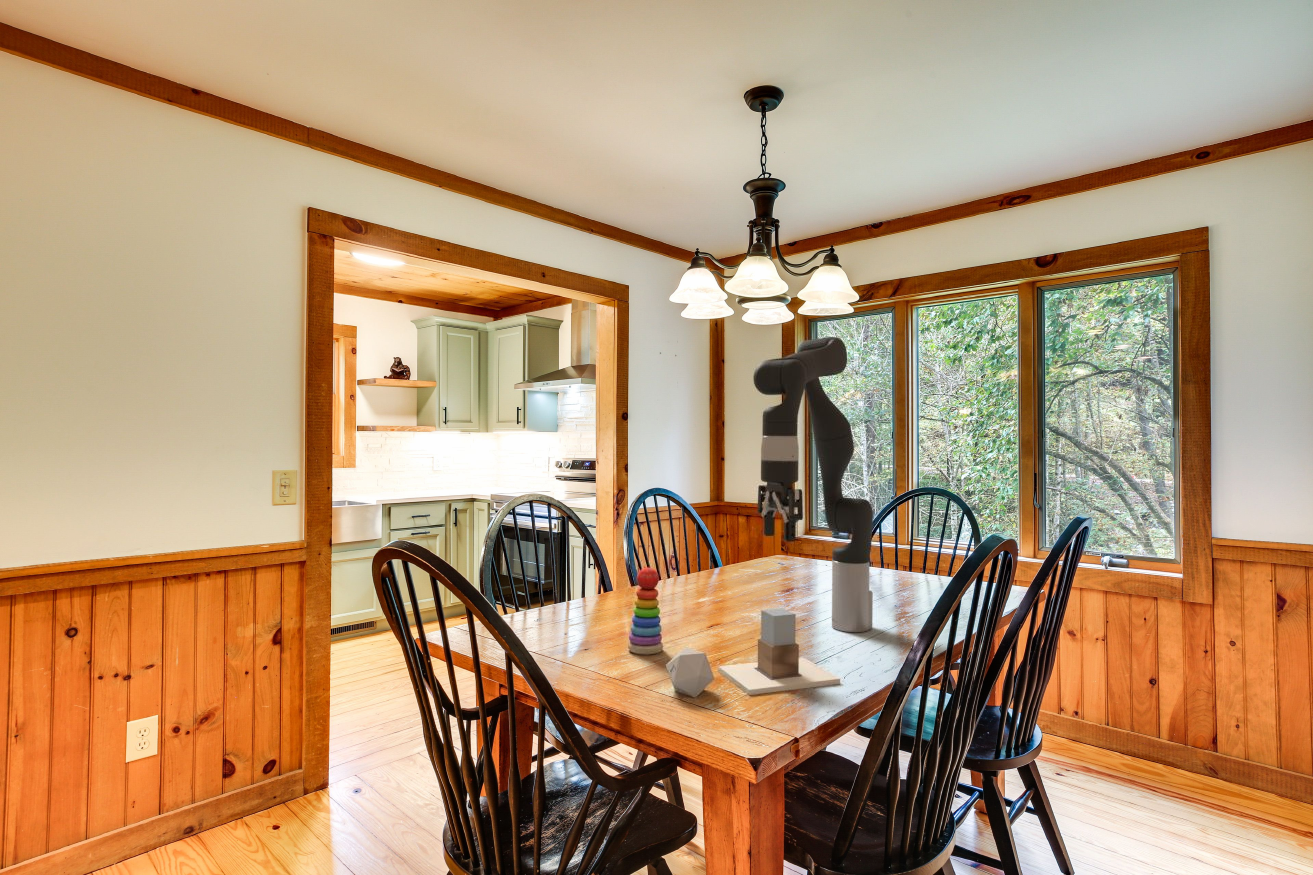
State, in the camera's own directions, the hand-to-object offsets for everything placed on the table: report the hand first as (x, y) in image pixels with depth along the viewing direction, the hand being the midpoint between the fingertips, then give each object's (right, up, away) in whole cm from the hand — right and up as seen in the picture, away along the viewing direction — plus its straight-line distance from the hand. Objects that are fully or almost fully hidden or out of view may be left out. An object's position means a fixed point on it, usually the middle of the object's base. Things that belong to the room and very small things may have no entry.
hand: (779, 538), depth 140 cm
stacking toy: (-27, -28, +17) cm, 43 cm away
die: (-18, -28, -8) cm, 35 cm away
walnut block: (0, -27, 0) cm, 27 cm away
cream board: (0, -28, 0) cm, 28 cm away
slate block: (0, -21, 0) cm, 21 cm away
